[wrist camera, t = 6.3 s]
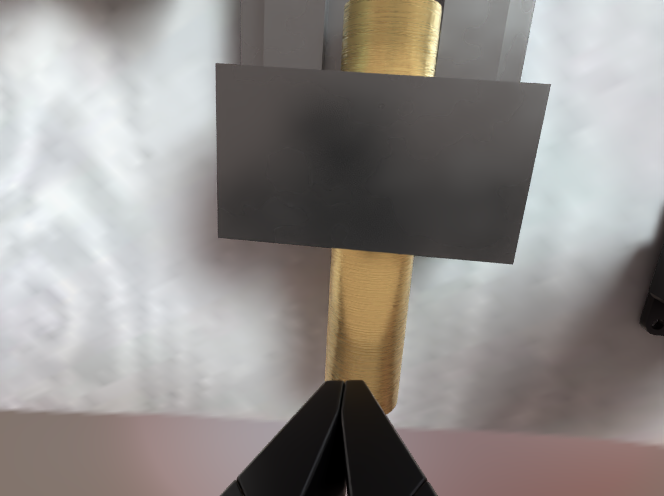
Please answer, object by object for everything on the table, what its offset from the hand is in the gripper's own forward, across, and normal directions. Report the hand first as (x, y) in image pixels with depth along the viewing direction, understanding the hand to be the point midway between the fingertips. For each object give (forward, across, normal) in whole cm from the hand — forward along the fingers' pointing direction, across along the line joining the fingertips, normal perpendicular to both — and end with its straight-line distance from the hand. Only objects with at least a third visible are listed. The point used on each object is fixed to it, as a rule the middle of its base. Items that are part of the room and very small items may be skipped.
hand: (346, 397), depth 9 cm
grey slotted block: (+10, -2, -9) cm, 14 cm away
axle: (+6, -1, -2) cm, 7 cm away
